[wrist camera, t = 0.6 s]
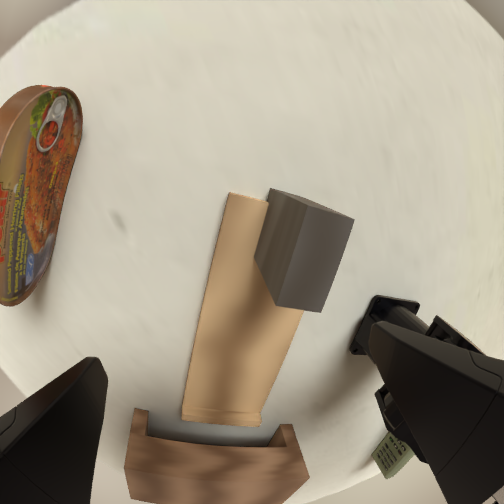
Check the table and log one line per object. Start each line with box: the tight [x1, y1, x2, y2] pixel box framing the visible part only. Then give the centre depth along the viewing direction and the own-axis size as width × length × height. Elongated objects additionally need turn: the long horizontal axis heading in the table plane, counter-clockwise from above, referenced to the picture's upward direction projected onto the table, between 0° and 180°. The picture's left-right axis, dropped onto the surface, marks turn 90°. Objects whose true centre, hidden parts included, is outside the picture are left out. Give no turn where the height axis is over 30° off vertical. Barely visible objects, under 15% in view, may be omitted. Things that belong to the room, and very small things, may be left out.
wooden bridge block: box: [124, 408, 310, 504], centre depth 24 cm, size 18×10×8 cm, turn 75°
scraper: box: [182, 188, 354, 427], centre depth 19 cm, size 8×22×8 cm, turn 165°
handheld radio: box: [372, 432, 415, 479], centre depth 30 cm, size 7×3×25 cm
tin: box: [0, 85, 83, 306], centre depth 13 cm, size 15×3×8 cm, turn 156°
